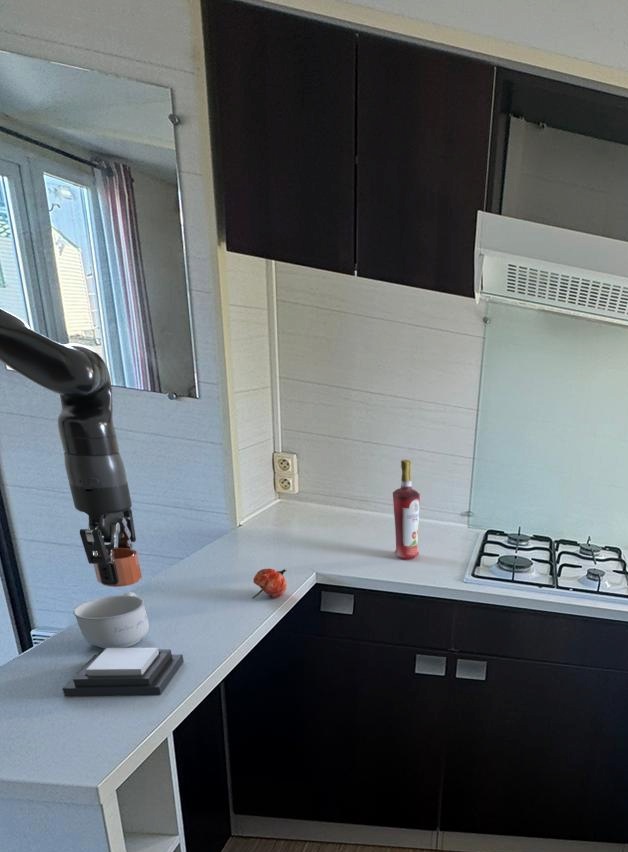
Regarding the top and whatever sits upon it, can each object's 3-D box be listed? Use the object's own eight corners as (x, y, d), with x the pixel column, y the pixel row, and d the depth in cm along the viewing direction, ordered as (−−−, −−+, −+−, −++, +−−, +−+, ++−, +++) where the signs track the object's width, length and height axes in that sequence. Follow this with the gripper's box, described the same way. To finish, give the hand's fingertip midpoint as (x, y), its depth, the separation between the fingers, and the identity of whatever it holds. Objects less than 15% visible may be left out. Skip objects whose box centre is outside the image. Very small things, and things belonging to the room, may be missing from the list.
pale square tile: (87, 677, 106) (85, 669, 105) (108, 655, 113) (106, 647, 112) (142, 676, 108) (140, 669, 107) (159, 655, 115) (157, 647, 114)
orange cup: (91, 587, 105) (84, 559, 103) (107, 573, 110) (100, 546, 108) (134, 588, 107) (128, 560, 105) (147, 575, 112) (142, 548, 110)
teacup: (126, 658, 117) (117, 619, 114) (67, 651, 117) (57, 612, 113) (174, 627, 130) (167, 592, 126) (121, 621, 129) (112, 585, 126)
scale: (64, 696, 104) (60, 681, 103) (96, 662, 115) (93, 647, 113) (160, 695, 108) (157, 680, 107) (183, 661, 118) (181, 647, 117)
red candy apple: (264, 613, 145) (299, 586, 147) (239, 590, 141) (275, 562, 143) (263, 604, 151) (296, 577, 153) (238, 582, 147) (273, 555, 149)
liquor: (407, 551, 189) (406, 457, 176) (424, 557, 186) (425, 462, 174) (388, 556, 183) (386, 459, 171) (406, 563, 180) (405, 464, 168)
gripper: (90, 468, 106) (111, 561, 113) (47, 489, 94) (73, 592, 101) (142, 472, 108) (158, 563, 115) (106, 492, 96) (128, 593, 103)
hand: (119, 576), depth 108 cm, fingers closed on orange cup, 6 cm apart
